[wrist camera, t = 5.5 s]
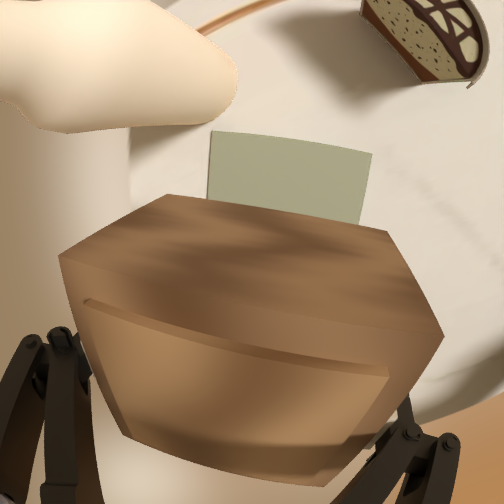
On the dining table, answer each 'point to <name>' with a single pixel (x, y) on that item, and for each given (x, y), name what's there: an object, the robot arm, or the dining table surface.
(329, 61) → the dining table surface
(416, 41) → the food container
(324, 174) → the mat
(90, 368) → the robot arm
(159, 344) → the wooden box
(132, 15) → the alcohol
